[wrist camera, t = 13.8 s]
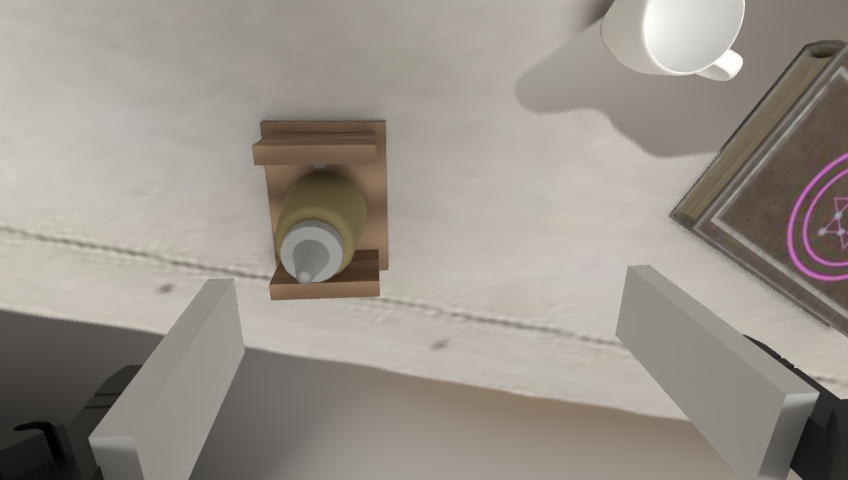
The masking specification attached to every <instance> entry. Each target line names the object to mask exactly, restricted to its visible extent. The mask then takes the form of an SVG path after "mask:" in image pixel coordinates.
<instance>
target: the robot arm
mask: <svg viewBox="0 0 848 480" xmlns="http://www.w3.org/2000/svg"><path fill="white" fill-rule="evenodd" d="M615 335H616V336H617V337H618V338H619V339H620V341H621V342H622V343H623V344H624V345H625V346H626V347H627V349H628V350H629V351H630V352H631V353H632V354H633V355H634V356H635V358H636V359H637V360H638V361H639V362H640V363H641V364H642V366H643V367H644V368H645V369H646V370H647V371H648V372H649V374H650V375H651V376H652V377H653V378H654V379H655V380H656V382H657V383H658V384H659V385H660V386H661V387H662V388H663V390H664V391H665V392H666V393H667V394H668V395H669V396H670V398H671V399H672V400H673V401H674V402H675V403H676V404H677V406H678V407H679V408H680V409H681V410H682V411H683V412H684V414H685V415H686V416H687V417H688V418H689V419H690V420H691V422H692V423H693V424H694V425H695V426H696V427H697V428H698V430H699V431H700V432H701V433H702V434H703V435H704V436H705V437H706V438H707V440H708V441H709V442H710V443H711V444H712V446H713V447H714V448H715V449H716V450H717V451H718V452H719V453H720V455H721V456H722V457H723V458H724V459H725V460H726V461H727V463H728V464H729V465H730V466H731V467H732V468H733V470H734V471H735V472H736V473H737V474H738V475H739V476H740V478H741V479H742V480H786V478H787V475H788V473H789V470H790V468H791V469H792V470H794V471H795V472H796V473H797V474H798V475H799V476H800V477H801V478H802V479H803V480H848V399H842V400H841V399H839V398H838V397H836V396H835V395H834V394H832V393H831V392H830V391H828V390H827V389H825V388H824V387H823V386H821V385H820V384H819V383H817V382H816V381H814V380H813V379H812V378H810V377H809V376H808V375H806V374H805V373H804V372H802V371H801V370H799V369H798V368H794V365H793V364H791V363H790V362H788V361H787V360H786V359H784V358H781V356H780V355H779V354H777V353H776V352H775V351H773V350H772V349H771V348H769V347H768V346H766V345H765V344H763V343H761V342H759V341H757V340H755V339H753V338H751V337H749V336H746V335H744V334H743V335H742V334H741V333H739V332H738V331H737V330H735V329H734V328H733V327H731V326H730V325H729V324H727V323H726V322H725V321H723V320H722V319H721V318H719V317H718V316H717V315H715V314H714V313H713V312H711V311H710V310H709V309H707V308H706V307H705V306H703V305H702V304H701V303H699V302H698V301H697V300H695V299H694V298H693V297H691V296H690V295H689V294H687V293H686V292H685V291H683V290H682V289H681V288H679V287H678V286H677V285H675V284H674V283H673V282H671V281H670V280H668V279H667V278H666V277H664V276H663V275H662V274H660V273H659V272H658V271H656V270H655V269H654V268H652V267H651V266H650V265H637V266H628V269H627V275H626V280H625V285H624V291H623V296H622V302H621V307H620V313H619V318H618V323H617V329H616V334H615ZM244 353H245V352H244V344H243V338H242V331H241V325H240V318H239V311H238V305H237V298H236V292H235V285H234V279H208V281H207V282H206V283H205V285H204V286H203V287H202V289H201V290H200V291H199V292H198V294H197V295H196V296H195V298H194V299H193V300H192V302H191V303H190V304H189V306H188V307H187V308H186V310H185V311H184V312H183V314H182V315H181V316H180V318H179V319H178V320H177V321H176V323H175V324H174V325H173V327H172V328H171V329H170V331H169V332H168V333H167V335H166V336H165V337H164V339H163V340H162V341H161V343H160V344H159V345H158V347H157V348H156V349H155V351H154V352H153V353H152V354H151V356H150V357H149V359H148V360H147V361H146V362H145V364H144V365H129V366H125V367H124V368H122V369H121V370H119V371H118V372H116V373H115V374H114V375H112V376H111V377H109V378H108V379H106V381H105V382H104V383H103V384H102V386H101V387H100V388H99V389H98V390H97V392H96V393H95V394H94V397H92V398H91V399H90V400H89V401H88V402H87V403H86V404H85V406H84V409H83V410H81V411H80V412H79V413H78V414H77V415H76V417H75V418H74V419H73V420H72V421H71V423H70V424H69V425H68V426H67V427H66V428H65V426H64V424H63V423H62V422H61V421H60V420H59V419H58V418H53V417H47V416H44V417H36V418H29V419H27V420H23V421H20V422H17V423H14V424H11V425H9V426H7V427H5V428H3V429H1V430H0V480H188V478H189V476H190V474H191V471H192V469H193V467H194V465H195V462H196V460H197V458H198V456H199V453H200V451H201V449H202V446H203V445H204V442H205V440H206V438H207V436H208V433H209V431H210V429H211V426H212V424H213V422H214V420H215V418H216V415H217V413H218V411H219V409H220V406H221V404H222V402H223V400H224V397H225V395H226V393H227V391H228V388H229V386H230V384H231V382H232V379H233V377H234V375H235V373H236V370H237V368H238V366H239V364H240V361H241V359H242V357H243V355H244Z"/></svg>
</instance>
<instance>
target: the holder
mask: <svg viewBox="0 0 848 480" xmlns="http://www.w3.org/2000/svg"><path fill="white" fill-rule="evenodd" d="M260 125H261V134H262V139H261V140H260V141H258V142H257V143H255V144H254V145H253V146H252V148H253V156H254V164H255V165H265V169H266V178H267V187H268V196H269V205H270V214H271V222H272V231H273V240H274V235H275V231H276V227H277V224H278V220H279V216H280V212H281V209H282V205H283V202H284V199H285V196H286V193H287V190H288V189H289V188H290V187H291V186H292V185H293V184H294V183H295V182H296V180H297V179H298V178H300V177H303V176H305V175H307V174H310V173H312V172H323V171H332V172H334V173H337V174H339V175H342V176H345V177H347V178H348V179H350V180H351V181H352V182H353V183H354V184H355V185H356V186H357V187H358V188H359V189H360V190H361V192H362V195H363V197H364V199H365V201H366V203H367V221H366V224H365V226H364V229H363V232H362V234H361V237H360V240H359V242H358V245H357V248H356V250H355V253H354V255H353V258H352V260H351V262H350V263H349V264H348V265H347V266H346V267H345V268H344V269H343V270H342V271H341V272H340V273H338V274H335V275H333V276H332V277H331V278H329V279H326V280H324V281H322V282H310V283H309V284H301V283H299V282H298V281H297V279H296V278H295V277H293V276H292V275H291V274H289V273H288V272H287V271H286V269H285V267H284V266H283V264H282V262H281V259H280V257H279V256H278V254H277V252H276V249H275V240H274V249H275V258H276V266H277V269H276V271H275V273H274V275H273V278H272V280H271V282H270V284H269V288H270V296H271V300H293V299H320V298H347V297H374V296H380V289H379V270H388V233H387V179H386V126H385V121H262V122H260Z"/></svg>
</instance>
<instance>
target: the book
mask: <svg viewBox="0 0 848 480" xmlns="http://www.w3.org/2000/svg"><path fill="white" fill-rule="evenodd" d="M718 152H720V154H719V155H718V156H717V157H716V158H715V160H714V161H713V162H712V163H711V165H710V166H709V167H708V168H707V170H706V171H705V172H704V173H703V174H702V176H701V177H700V178H699V179H698V181H697V182H696V183H695V184H694V185H693V187H692V188H691V189H690V190H689V192H688V193H687V194H686V195H685V196H684V198H683V199H682V200H681V201H680V203H679V204H678V205H677V206H676V208H675V209H674V210H673V211H672V212H671V214H670V215H669V217H671V218H672V219H674V220H675V221H677V222H678V223H679V224H681V225H682V226H684V227H685V228H687V229H688V230H690V231H691V232H692V233H694V234H695V235H697V236H698V237H700V238H701V239H702V240H704V241H705V242H707V243H708V244H710V245H711V246H713V247H714V248H715V249H717V250H718V251H720V252H721V253H723V254H724V255H726V256H727V257H728V258H730V259H731V260H733V261H734V262H736V263H737V264H738V265H740V266H741V267H743V268H744V269H746V270H747V271H749V272H750V273H751V274H753V275H754V276H756V277H757V278H759V279H760V280H762V281H763V282H764V283H766V284H767V285H769V286H770V287H772V288H773V289H774V290H776V291H777V292H779V293H780V294H782V295H783V296H785V297H786V298H787V299H789V300H790V301H792V302H793V303H795V304H796V305H798V306H799V307H800V308H802V309H803V310H805V311H806V312H808V313H809V314H810V315H812V316H813V317H815V318H816V319H818V320H819V321H821V322H822V323H823V324H825V325H826V326H828V327H829V326H830V325H831V326H832V327H833V328H835V329H836V330H838V331H839V332H841V333H842V334H844V335H845V336H846V337H848V43H847V42H844V41H841V40H823V41H818V42H814V43H810V44H807V45H805V46H804V47H803V48H802V49H801V50H800V52H799V53H798V54H797V56H796V57H795V58H794V59H793V60H792V62H791V63H790V64H789V65H788V67H787V68H786V69H785V70H784V72H783V73H782V74H781V75H780V76H779V77H778V79H777V80H776V81H775V82H774V84H773V85H772V86H771V87H770V89H769V90H768V91H767V92H766V93H765V95H764V96H763V97H762V99H761V100H760V101H759V102H758V103H757V105H756V106H755V107H754V108H753V109H752V111H751V112H750V113H749V114H748V116H747V117H746V118H745V119H744V120H743V122H742V123H741V124H740V125H739V127H738V128H737V129H736V130H735V132H734V133H733V134H732V135H731V136H730V138H729V139H728V140H727V141H726V143H725V144H724V145H723V146H722V148H721V149H720V150H719V151H718Z"/></svg>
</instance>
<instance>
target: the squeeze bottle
mask: <svg viewBox="0 0 848 480" xmlns="http://www.w3.org/2000/svg"><path fill="white" fill-rule="evenodd" d="M366 221H367V203H366V201H365V199H364V197H363V195H362V192H361V190H360V189H359V188H358V187H357V186H356V185H355V184H354V183H353V182H352V181H351V180H350V179H348V178H347V177H345V176H342V175H339V174H337V173H334V172H332V171H323V172H312V173H310V174H307V175H305V176H303V177H300V178H298V179H297V180H296V182H295V183H294V184H293V185H292V186H291V187H290V188H289V189H288V190H287V193H286V196H285V199H284V202H283V205H282V209H281V212H280V216H279V220H278V224H277V227H276V231H275V235H274V240H275V249H276V252H277V254H278V256H279V257H280V259H281V262H282V264H283V266H284V267H285V269H286V271H287V272H288V273H289V274H291V275H292V276H293V277H295V278H296V279H297V281H298V282H299V283H301V284H309V283H310V282H322V281H324V280H326V279H329V278H331V277H332V276H333V275H335V274H338V273H340V272H341V271H342V270H343V269H344V268H345V267H346V266H347V265H348V264H349V263H350V262H351V260H352V258H353V255H354V253H355V250H356V248H357V245H358V242H359V240H360V237H361V234H362V232H363V229H364V226H365V224H366Z"/></svg>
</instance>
